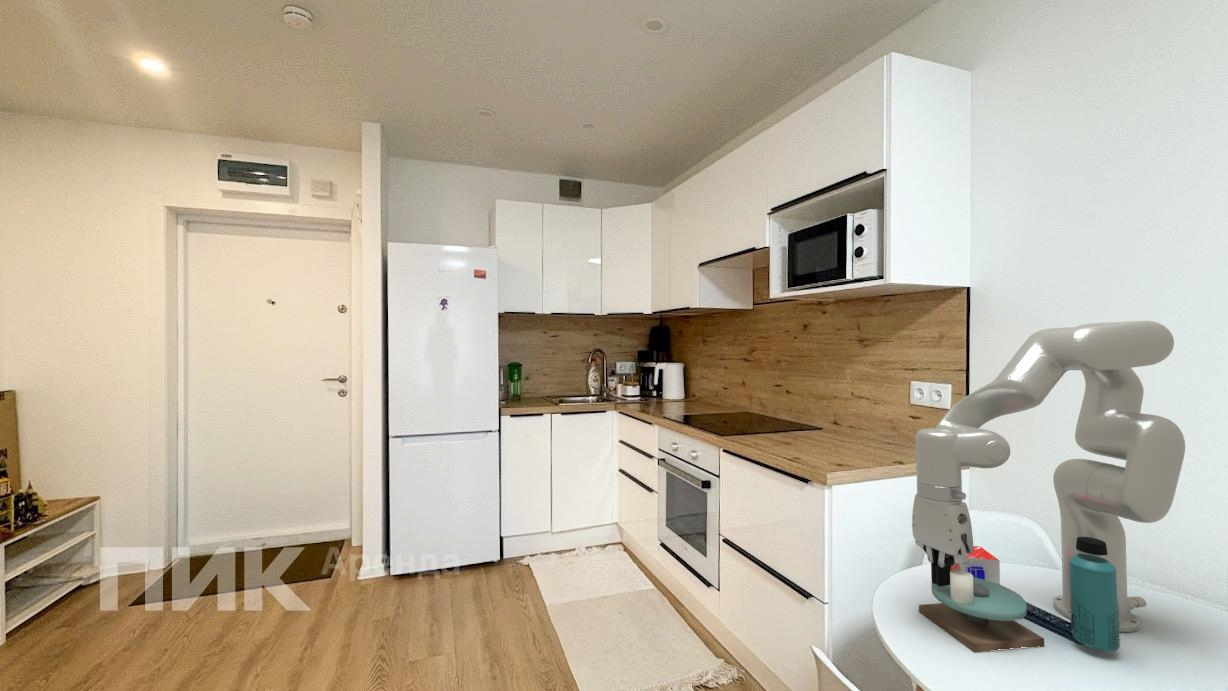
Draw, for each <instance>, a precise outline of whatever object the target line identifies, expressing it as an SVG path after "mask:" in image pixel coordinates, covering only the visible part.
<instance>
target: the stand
mask: <svg viewBox="0 0 1228 691" xmlns="http://www.w3.org/2000/svg"><path fill="white" fill-rule="evenodd" d="M918 613H920V615H922V616H923V617H925V618H926V619H928V620H930V621H931V622H932V623H933V624H934V625H936V626H938V627H939V628H940V629H942V630H943V631H944V632H946V633H947V634H948V635H950V636H951V637H952V638H954V639H955V640H957V641H958V642H959V643H960V644H962V645H963V646H965V647H966V648H967V649H969V650H970V651H972V652H973V653H983V652H982V651H987V652H992V651H991V650H998V649H1010V648H1021V647H1034V648H1042V646H1043V648H1044V647H1045V638H1044V637H1042V636H1041V635H1039V634H1037V633H1036V632H1034V631H1032V630H1031V629H1029V628H1027V627H1026V626H1024V625H1023V624H1021V623H1019V622H1017V620H1013V621H999V620H990V619H984V618H980V617H976V616H972V615H968V614H965V613H962V612H960V611H957V610H955V609H953V608H950V607H948V606H947V605H945V604H943V603H942V602H939V603H926V604H925V603H924V604H918ZM1039 646H1040V647H1039ZM1010 650H1011V649H1010Z"/></svg>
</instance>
